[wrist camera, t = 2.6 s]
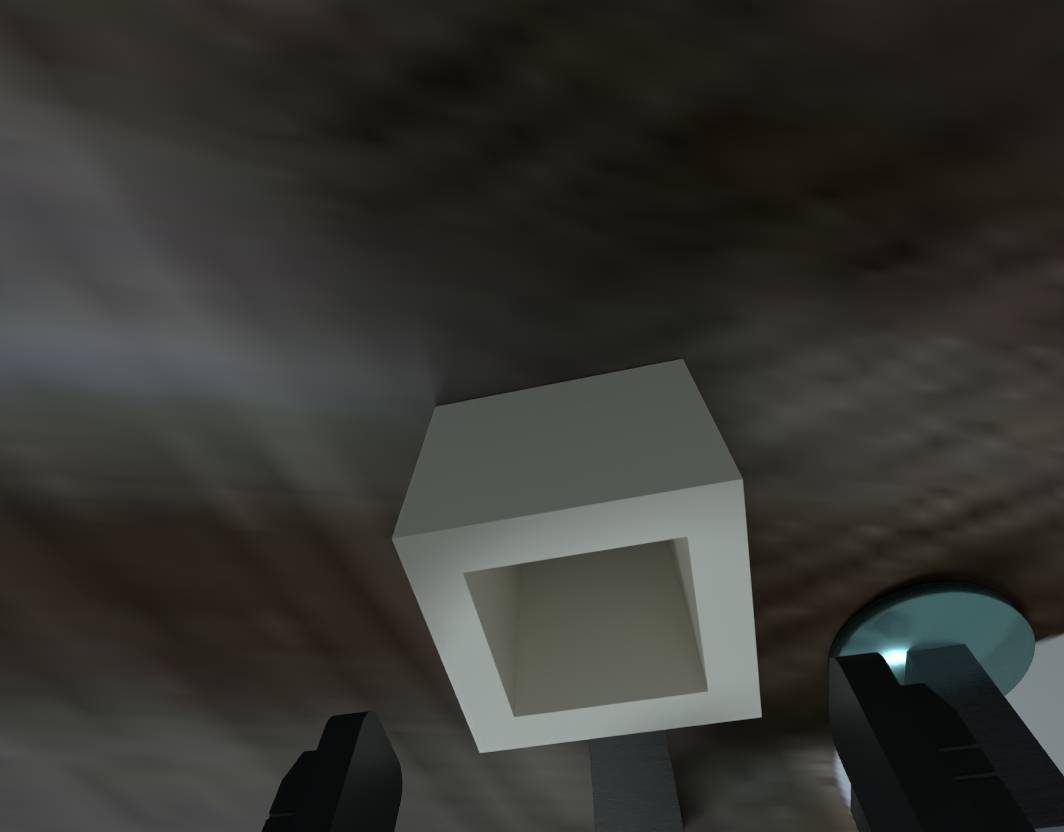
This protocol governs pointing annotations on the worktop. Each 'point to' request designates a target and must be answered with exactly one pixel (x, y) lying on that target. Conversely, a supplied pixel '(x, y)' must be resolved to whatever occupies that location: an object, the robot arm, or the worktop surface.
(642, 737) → the rail
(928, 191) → the worktop surface
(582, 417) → the white square tube
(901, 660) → the peg
